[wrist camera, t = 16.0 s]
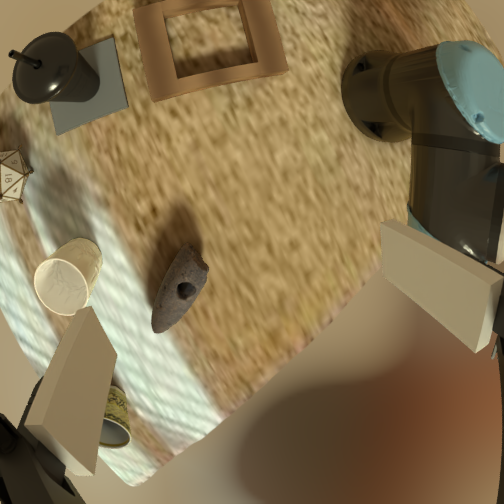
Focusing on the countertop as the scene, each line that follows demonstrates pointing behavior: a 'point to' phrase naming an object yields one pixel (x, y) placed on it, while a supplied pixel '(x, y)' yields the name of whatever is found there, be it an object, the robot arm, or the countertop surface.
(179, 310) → the perforated stone tool
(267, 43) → the holder frame
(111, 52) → the slate mat
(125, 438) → the ceramic cup
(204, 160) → the countertop surface
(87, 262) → the white cup
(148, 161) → the countertop surface
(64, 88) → the drinking cup
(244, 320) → the countertop surface
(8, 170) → the game die
